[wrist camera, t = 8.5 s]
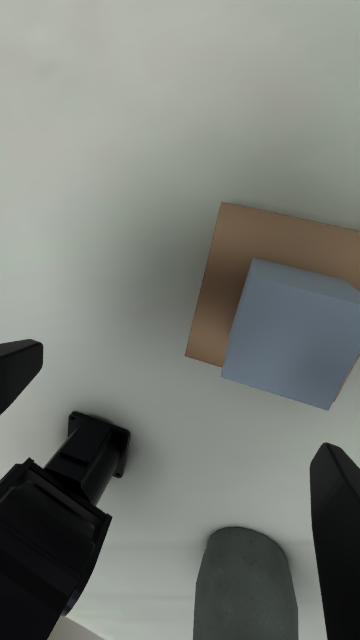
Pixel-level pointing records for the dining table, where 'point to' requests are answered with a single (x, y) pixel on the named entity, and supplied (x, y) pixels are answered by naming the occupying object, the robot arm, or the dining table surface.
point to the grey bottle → (244, 589)
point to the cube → (294, 333)
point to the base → (270, 245)
